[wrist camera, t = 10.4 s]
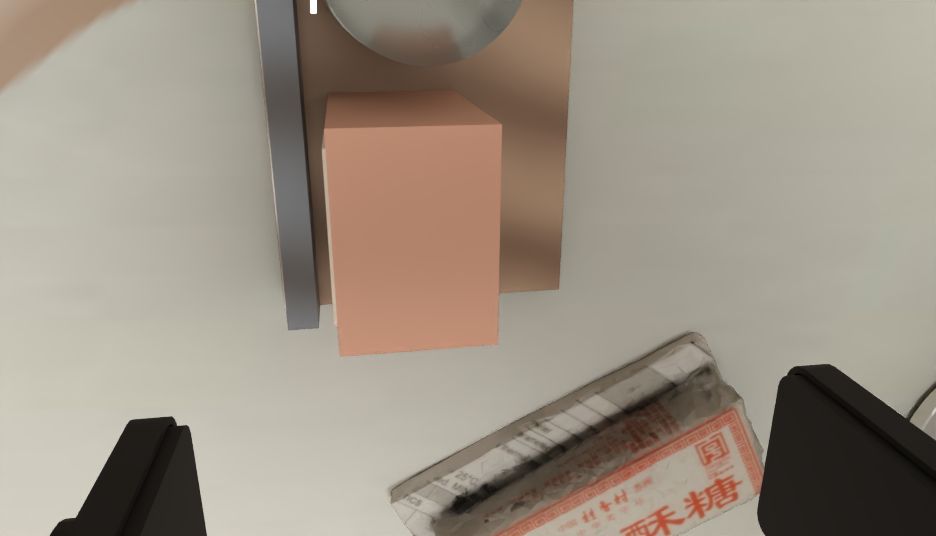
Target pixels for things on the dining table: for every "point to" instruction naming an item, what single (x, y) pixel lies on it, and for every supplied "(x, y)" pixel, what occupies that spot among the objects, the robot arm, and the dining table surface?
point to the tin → (423, 26)
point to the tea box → (412, 220)
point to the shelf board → (362, 70)
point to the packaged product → (602, 459)
